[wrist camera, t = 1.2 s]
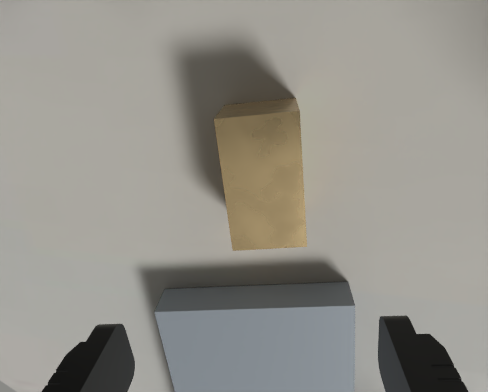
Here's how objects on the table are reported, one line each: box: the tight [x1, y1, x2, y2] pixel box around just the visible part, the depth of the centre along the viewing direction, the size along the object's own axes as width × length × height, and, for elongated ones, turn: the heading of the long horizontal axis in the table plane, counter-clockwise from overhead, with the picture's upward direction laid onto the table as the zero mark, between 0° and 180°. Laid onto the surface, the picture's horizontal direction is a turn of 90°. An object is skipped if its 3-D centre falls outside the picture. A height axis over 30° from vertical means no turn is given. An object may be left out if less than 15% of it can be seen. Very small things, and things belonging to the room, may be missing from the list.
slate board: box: [155, 282, 355, 392], centre depth 34 cm, size 16×16×3 cm
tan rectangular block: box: [214, 98, 307, 251], centre depth 25 cm, size 5×9×5 cm, turn 7°
